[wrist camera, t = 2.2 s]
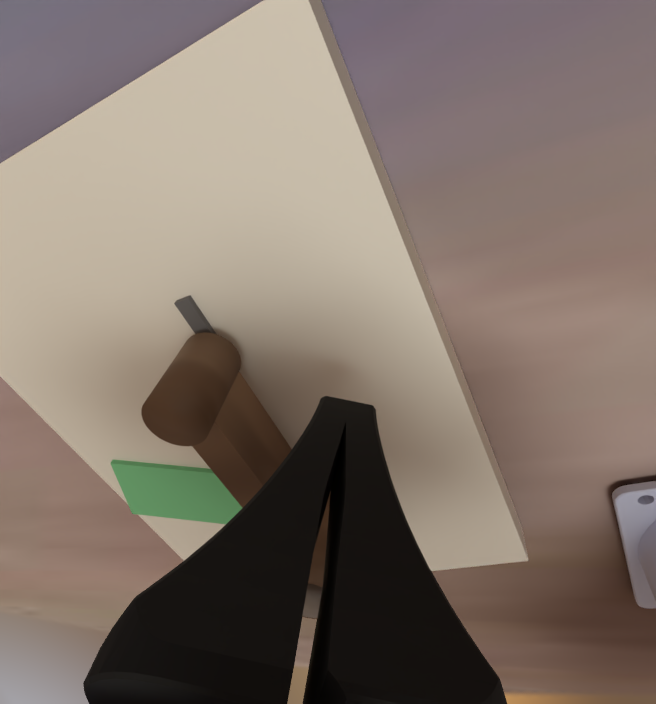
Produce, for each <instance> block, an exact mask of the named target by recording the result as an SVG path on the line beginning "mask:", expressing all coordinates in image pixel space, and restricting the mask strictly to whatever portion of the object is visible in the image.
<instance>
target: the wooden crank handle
mask: <svg viewBox="0 0 656 704" xmlns="http://www.w3.org/2000/svg"><path fill="white" fill-rule="evenodd" d="M240 368H241V357H240V354H239V352H238V350H237V349H236V347H235V346H234V345H233V344H232V343H231V342H230V341H228V340H227V339H226V338H224V337H222V336H220V335H217V334H214V333H207V332H206V333H198V334H195V335H193V336H191V337H190V338H189V339H188V340H187V341H186V342H185V344H184V345H183V347H182V348H181V350H180V351H179V353H178V354H177V356H176V357H175V359H174V360H173V361H172V363H171V364H170V366H169V367H168V369H167V370H166V372H165V373H164V375H163V376H162V378H161V379H160V380H159V382H158V383H157V385H156V386H155V388H154V389H153V391H152V392H151V394H150V395H149V397H148V398H147V399H146V401H145V402H144V404H143V406H142V409H141V415H142V419H143V421H144V423H145V425H146V426H147V428H148V429H149V430H150V431H151V432H152V433H153V434H154V435H156V436H157V437H158V438H160V439H162V440H164V441H166V442H168V443H171V444H174V445H178V446H192V447H193V448H194V449H195V450H196V452H197V453H198V454H199V455H200V457H201V458H202V459H203V460H204V461H205V463H206V464H207V465H208V466H209V468H210V469H211V470H212V471H213V472H214V474H215V475H216V476H217V477H218V479H219V480H220V481H221V482H222V483H223V485H224V486H225V487H226V488H227V490H228V491H229V492H230V493H231V494H232V496H233V497H234V498H235V499H236V501H237V502H238V503H239V504H240V505H241V507H242V508H243V507H244V506H245V505H246V504H247V503H248V502H249V501H250V500H251V499H252V498H253V497H254V495H255V494H256V493H257V492H258V491H259V490H260V489H261V488H262V487H263V485H264V484H265V483H266V482H267V481H268V480H269V478H270V477H271V476H272V475H273V473H274V472H275V471H276V470H277V468H278V467H279V466H280V464H281V463H282V462H283V461H284V459H285V458H286V457H287V455H288V454H289V453H290V451H291V450H292V449H291V447H290V446H289V444H288V443H287V441H286V440H285V438H284V437H283V435H282V434H281V432H280V431H279V429H278V428H277V426H276V425H275V423H274V422H273V420H272V419H271V418H270V416H269V415H268V413H267V412H266V410H265V409H264V407H263V406H262V404H261V403H260V401H259V400H258V398H257V397H256V395H255V394H254V392H253V391H252V389H251V388H250V386H249V385H248V383H247V382H246V380H245V379H244V378H243V376H242V375H241V373H240V372H239V370H240ZM329 504H330V494H329V498H328V501H327V505H326V509H325V512H324V516H323V519H322V523H321V526H320V530H319V534H318V537H317V541H316V544H315V548H314V552H313V558H312V564H311V569H310V575H309V581H308V586H307V592H306V598H305V604H304V609H303V615H302V617H306V618H312V619H317V617H318V611H319V605H320V599H321V593H322V586H323V577H324V567H325V554H326V542H327V529H328V516H329Z"/></svg>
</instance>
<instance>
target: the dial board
mask: <svg viewBox="0 0 656 704" xmlns="http://www.w3.org/2000/svg"><path fill="white" fill-rule="evenodd" d="M206 332H207V333H214V334H217V335H220V336H222V337H224V338H226V339H227V340H228V341H230V342H231V343H232V344H233V345H234V346H235V347H236V349H237V350H238V352H239V354H240V357H241V368H240V370H239V372H240V373H241V375H242V376H243V378H244V379H245V380H246V382H247V383H248V385H249V386H250V388H251V389H252V391H253V392H254V394H255V395H256V397H257V398H258V400H259V401H260V403H261V404H262V406H263V407H264V409H265V410H266V412H267V413H268V415H269V416H270V418H271V419H272V420H273V422H274V423H275V425H276V426H277V428H278V429H279V431H280V432H281V434H282V435H283V437H284V438H285V440H286V441H287V443H288V444H289V446H290V447H291V449H292V448H293V447H294V445H295V444H296V443H297V441H298V440H299V438H300V437H301V435H302V434H303V432H304V430H305V429H306V427H307V425H308V424H309V422H310V420H311V419H312V417H313V415H314V413H315V411H316V409H317V407H318V404H319V401H320V399H321V398H322V397H324V396H330V397H335V398H340V399H345V400H350V401H355V402H359V403H364V404H369V405H373V406H374V408H375V409H376V417H377V424H378V430H379V435H380V440H381V444H382V448H383V452H384V456H385V460H386V463H387V466H388V469H389V473H390V476H391V479H392V482H393V485H394V488H395V491H396V494H397V497H398V499H399V502H400V505H401V507H402V510H403V512H404V515H405V517H406V520H407V522H408V524H409V527H410V529H411V531H412V533H413V535H414V538H415V540H416V542H417V544H418V546H419V548H420V550H421V552H422V554H423V556H424V558H425V560H426V562H427V564H428V566H429V568H430V570H431V571H437V570H447V569H456V568H465V567H475V566H484V565H494V564H503V563H512V562H522V561H529V560H528V555H527V550H526V545H525V539H524V534H523V529H522V526H521V523H520V521H519V518H518V515H517V513H516V510H515V508H514V505H513V502H512V500H511V497H510V494H509V492H508V489H507V487H506V484H505V481H504V479H503V476H502V473H501V471H500V468H499V466H498V463H497V460H496V458H495V455H494V453H493V450H492V447H491V445H490V442H489V439H488V437H487V434H486V432H485V429H484V426H483V424H482V421H481V419H480V416H479V413H478V411H477V408H476V405H475V403H474V400H473V398H472V395H471V392H470V390H469V387H468V384H467V382H466V379H465V377H464V374H463V371H462V369H461V366H460V364H459V361H458V358H457V356H456V353H455V350H454V348H453V345H452V343H451V340H450V337H449V335H448V332H447V330H446V327H445V324H444V322H443V319H442V316H441V314H440V311H439V309H438V306H437V303H436V301H435V298H434V295H433V293H432V290H431V288H430V285H429V282H428V280H427V277H426V275H425V272H424V269H423V267H422V264H421V261H420V259H419V256H418V254H417V251H416V248H415V246H414V243H413V241H412V238H411V235H410V233H409V230H408V227H407V225H406V222H405V220H404V217H403V214H402V212H401V209H400V207H399V204H398V201H397V199H396V196H395V193H394V191H393V188H392V186H391V183H390V180H389V178H388V175H387V172H386V170H385V167H384V165H383V162H382V159H381V157H380V154H379V152H378V149H377V146H376V144H375V141H374V138H373V136H372V133H371V131H370V128H369V125H368V123H367V120H366V118H365V115H364V112H363V110H362V107H361V104H360V102H359V99H358V97H357V94H356V91H355V89H354V86H353V83H352V81H351V78H350V76H349V73H348V70H347V68H346V65H345V63H344V60H343V57H342V55H341V52H340V49H339V47H338V44H337V42H336V39H335V36H334V34H333V31H332V29H331V26H330V23H329V21H328V18H327V15H326V13H325V10H324V8H323V5H322V2H321V0H263V1H262V2H260V3H259V4H257V5H255V6H254V7H252V8H250V9H249V10H247V11H246V12H244V13H242V14H241V15H239V16H238V17H236V18H234V19H233V20H231V21H230V22H228V23H226V24H225V25H223V26H221V27H220V28H218V29H217V30H215V31H213V32H212V33H210V34H209V35H207V36H205V37H204V38H202V39H200V40H199V41H197V42H196V43H194V44H192V45H191V46H189V47H188V48H186V49H184V50H183V51H181V52H180V53H178V54H176V55H175V56H173V57H171V58H170V59H168V60H167V61H165V62H163V63H162V64H160V65H159V66H157V67H155V68H154V69H152V70H150V71H149V72H147V73H146V74H144V75H142V76H141V77H139V78H138V79H136V80H134V81H133V82H131V83H130V84H128V85H126V86H125V87H123V88H121V89H120V90H118V91H117V92H115V93H113V94H112V95H110V96H109V97H107V98H105V99H104V100H102V101H100V102H99V103H97V104H96V105H94V106H92V107H91V108H89V109H88V110H86V111H84V112H83V113H81V114H79V115H78V116H76V117H75V118H73V119H71V120H70V121H68V122H67V123H65V124H63V125H62V126H60V127H59V128H57V129H55V130H54V131H52V132H50V133H49V134H47V135H46V136H44V137H42V138H41V139H39V140H38V141H36V142H34V143H33V144H31V145H29V146H28V147H26V148H25V149H23V150H21V151H20V152H18V153H17V154H15V155H13V156H12V157H10V158H9V159H7V160H5V161H4V162H2V163H0V376H1V377H2V378H3V379H4V380H5V381H6V382H7V383H8V384H9V385H10V386H11V388H12V389H13V390H14V391H15V392H16V393H17V394H18V395H19V396H20V397H21V398H22V399H23V400H24V401H25V402H26V403H27V404H28V405H29V406H30V407H31V408H32V409H33V410H34V411H35V412H36V413H37V414H38V415H39V416H40V417H41V418H42V419H43V420H44V421H45V422H46V423H47V424H48V425H49V426H50V427H51V428H52V429H53V430H54V431H55V432H56V433H57V434H58V435H59V436H60V437H61V438H62V439H63V440H64V441H65V442H66V443H67V444H68V445H69V446H70V447H71V448H72V449H73V450H74V451H75V452H76V453H77V454H78V455H79V456H80V457H81V458H82V459H83V460H84V461H85V462H86V463H87V464H88V465H89V466H90V467H91V468H92V469H93V470H94V471H95V472H96V473H97V474H98V475H99V476H100V477H101V478H102V479H103V480H104V481H105V482H106V483H107V484H108V485H109V486H110V487H111V488H112V489H113V490H114V491H115V492H116V493H117V494H118V495H119V496H120V497H121V498H122V499H123V500H124V501H125V502H126V503H127V504H128V505H129V507H130V510H131V512H132V514H138V515H139V516H140V517H141V518H142V519H143V520H144V521H145V522H146V523H147V524H148V525H149V526H150V527H151V528H152V529H153V530H154V531H155V532H156V533H157V534H158V535H159V536H160V537H161V538H162V539H163V540H164V541H165V542H166V543H167V544H168V545H169V546H170V547H171V548H172V549H173V550H174V551H175V552H176V553H177V554H178V555H179V556H180V557H181V558H182V559H183V560H186V559H187V558H188V557H189V556H190V555H192V554H193V553H194V552H195V551H196V550H197V549H199V548H200V547H201V546H202V545H203V544H205V543H206V542H207V541H208V540H209V539H210V538H212V537H213V536H214V535H215V534H216V533H217V532H218V531H219V530H221V529H222V528H223V527H224V526H225V525H226V524H227V523H228V522H229V521H230V520H231V519H232V518H233V517H234V516H235V515H236V514H237V513H238V512H239V511H240V510H241V509H242V507H241V505H240V504H239V503H238V502H237V501H236V499H235V498H234V497H233V496H232V494H231V493H230V492H229V491H228V490H227V488H226V487H225V486H224V485H223V483H222V482H221V481H220V480H219V479H218V477H217V476H216V475H215V474H214V472H213V471H212V470H211V469H210V468H209V466H208V465H207V464H206V463H205V461H204V460H203V459H202V458H201V457H200V455H199V454H198V453H197V452H196V450H195V449H194V448H193V447H192V446H178V445H174V444H171V443H168V442H166V441H164V440H162V439H160V438H158V437H157V436H156V435H154V434H153V433H152V432H151V431H150V430H149V429H148V428H147V426H146V425H145V423H144V421H143V419H142V415H141V409H142V406H143V404H144V402H145V401H146V399H147V398H148V397H149V395H150V394H151V392H152V391H153V389H154V388H155V386H156V385H157V383H158V382H159V380H160V379H161V378H162V376H163V375H164V373H165V372H166V370H167V369H168V367H169V366H170V364H171V363H172V361H173V360H174V359H175V357H176V356H177V354H178V353H179V351H180V350H181V348H182V347H183V345H184V344H185V342H186V341H187V340H188V339H189V338H190V337H191V336H193V335H195V334H198V333H206ZM330 492H331V491H330Z"/></svg>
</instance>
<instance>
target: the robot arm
mask: <svg viewBox="0 0 656 704" xmlns="http://www.w3.org/2000/svg"><path fill="white" fill-rule="evenodd" d="M330 491H331V492H330ZM329 494H330V504H329V516H328V529H327V542H326V554H325V567H324V577H323V586H322V593H321V599H320V605H319V611H318V617H317V623H316V629H315V635H314V641H313V647H312V653H311V659H310V664H309V670H308V676H307V682H306V688H305V693H304V699H303V704H507V702H506V698H505V695H504V691H503V688H502V685H501V681H500V679H499V677H498V676H497V674H496V673H495V672H494V670H493V669H492V667H491V666H490V664H489V663H488V662H487V660H486V659H485V657H484V656H483V655H482V653H481V652H480V650H479V649H478V647H477V646H476V644H475V643H474V641H473V640H472V638H471V637H470V635H469V634H468V632H467V631H466V629H465V628H464V626H463V624H462V623H461V621H460V620H459V618H458V616H457V615H456V613H455V612H454V610H453V609H452V607H451V605H450V604H449V602H448V600H447V598H446V596H445V595H444V593H443V591H442V589H441V588H440V586H439V584H438V582H437V581H436V579H435V577H434V575H433V573H432V572H431V570H430V568H429V566H428V564H427V562H426V560H425V558H424V556H423V554H422V552H421V550H420V548H419V546H418V544H417V542H416V540H415V538H414V535H413V533H412V531H411V529H410V527H409V524H408V522H407V520H406V517H405V515H404V512H403V510H402V507H401V505H400V502H399V499H398V497H397V494H396V491H395V488H394V485H393V482H392V479H391V476H390V473H389V469H388V466H387V463H386V460H385V456H384V452H383V448H382V444H381V440H380V435H379V430H378V424H377V417H376V409H375V408H374V406H373V405H369V404H364V403H359V402H355V401H350V400H345V399H340V398H335V397H330V396H324V397H322V398H321V399H320V401H319V404H318V407H317V409H316V411H315V413H314V415H313V417H312V419H311V420H310V422H309V424H308V425H307V427H306V429H305V430H304V432H303V434H302V435H301V437H300V438H299V440H298V441H297V443H296V444H295V445H294V447H293V448H292V450H291V451H290V453H289V454H288V455H287V457H286V458H285V459H284V461H283V462H282V463H281V464H280V466H279V467H278V468H277V470H276V471H275V472H274V473H273V475H272V476H271V477H270V478H269V480H268V481H267V482H266V483H265V484H264V485H263V487H262V488H261V489H260V490H259V491H258V492H257V493H256V494H255V495H254V497H253V498H252V499H251V500H250V501H249V502H248V503H247V504H246V505H245V506H244V507H243V508H242V509H241V510H240V511H239V512H238V513H237V514H236V515H235V516H234V517H233V518H232V519H231V520H230V521H229V522H228V523H227V524H226V525H225V526H224V527H223V528H222V529H221V530H219V531H218V532H217V533H216V534H215V535H214V536H213V537H212V538H210V539H209V540H208V541H207V542H206V543H205V544H203V545H202V546H201V547H200V548H199V549H197V550H196V551H195V552H194V553H193V554H192V555H190V556H189V557H188V558H187V559H186V560H184V561H183V562H182V563H181V564H179V565H178V566H177V567H176V568H174V569H173V570H172V571H170V572H169V573H168V574H166V575H165V576H164V577H162V578H161V579H159V580H158V581H157V582H155V583H154V584H153V585H151V586H150V587H149V588H147V589H146V590H145V591H143V592H142V593H140V594H139V595H138V596H136V597H135V598H134V599H133V601H132V602H131V603H130V605H129V606H128V607H127V609H126V610H125V611H124V613H123V614H122V615H121V617H120V618H119V619H118V621H117V622H116V624H115V625H114V627H113V628H112V630H111V631H110V633H109V635H108V636H107V638H106V639H105V641H104V643H103V644H102V646H101V648H100V650H99V652H98V654H97V656H96V658H95V660H94V662H93V664H92V667H91V669H90V671H89V673H88V675H87V677H86V679H85V681H84V691H85V695H86V697H87V699H88V702H89V704H287V701H288V695H289V690H290V684H291V679H292V673H293V668H294V662H295V656H296V650H297V644H298V638H299V633H300V627H301V621H302V615H303V609H304V604H305V598H306V592H307V586H308V581H309V575H310V569H311V564H312V558H313V552H314V548H315V544H316V541H317V537H318V534H319V530H320V526H321V523H322V519H323V516H324V512H325V509H326V505H327V501H328V498H329ZM612 499H613V503H614V508H615V512H616V517H617V521H618V526H619V530H620V535H621V539H622V544H623V548H624V553H625V557H626V562H627V566H628V571H629V575H630V580H631V584H632V589H633V593H634V597H635V600H636V603H637V604H638V605H639V606H640V607H642V608H646V609H653V608H656V481H650V482H644V483H637V484H630V485H624V486H621V487H618V488H617V489H615V490H614V492H613V493H612Z"/></svg>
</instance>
